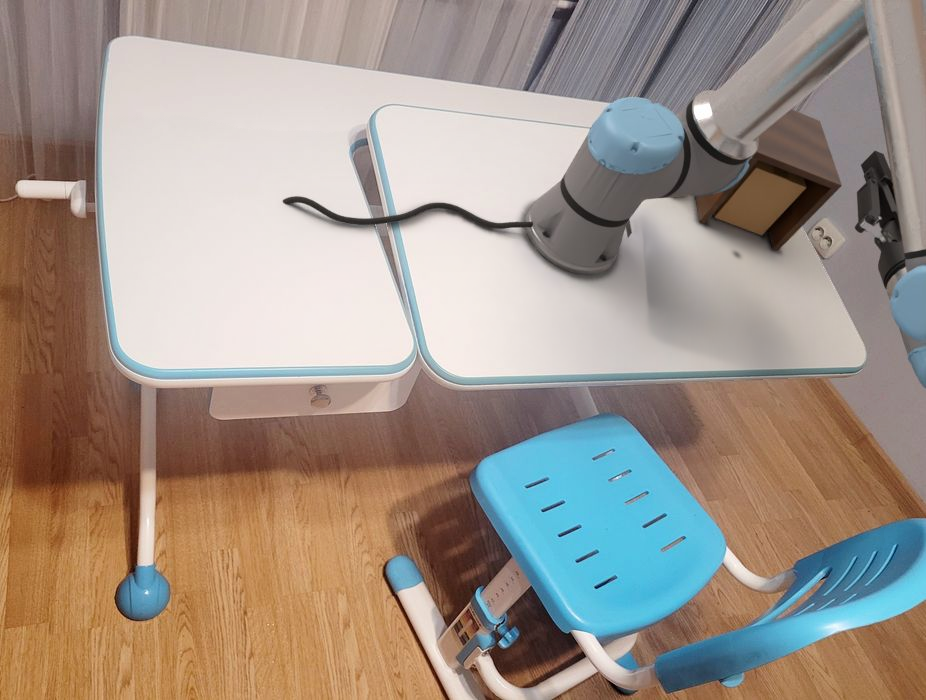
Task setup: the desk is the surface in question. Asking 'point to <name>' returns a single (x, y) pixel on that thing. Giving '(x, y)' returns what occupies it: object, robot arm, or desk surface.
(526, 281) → the desk surface
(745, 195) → the box
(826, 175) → the cabinet
